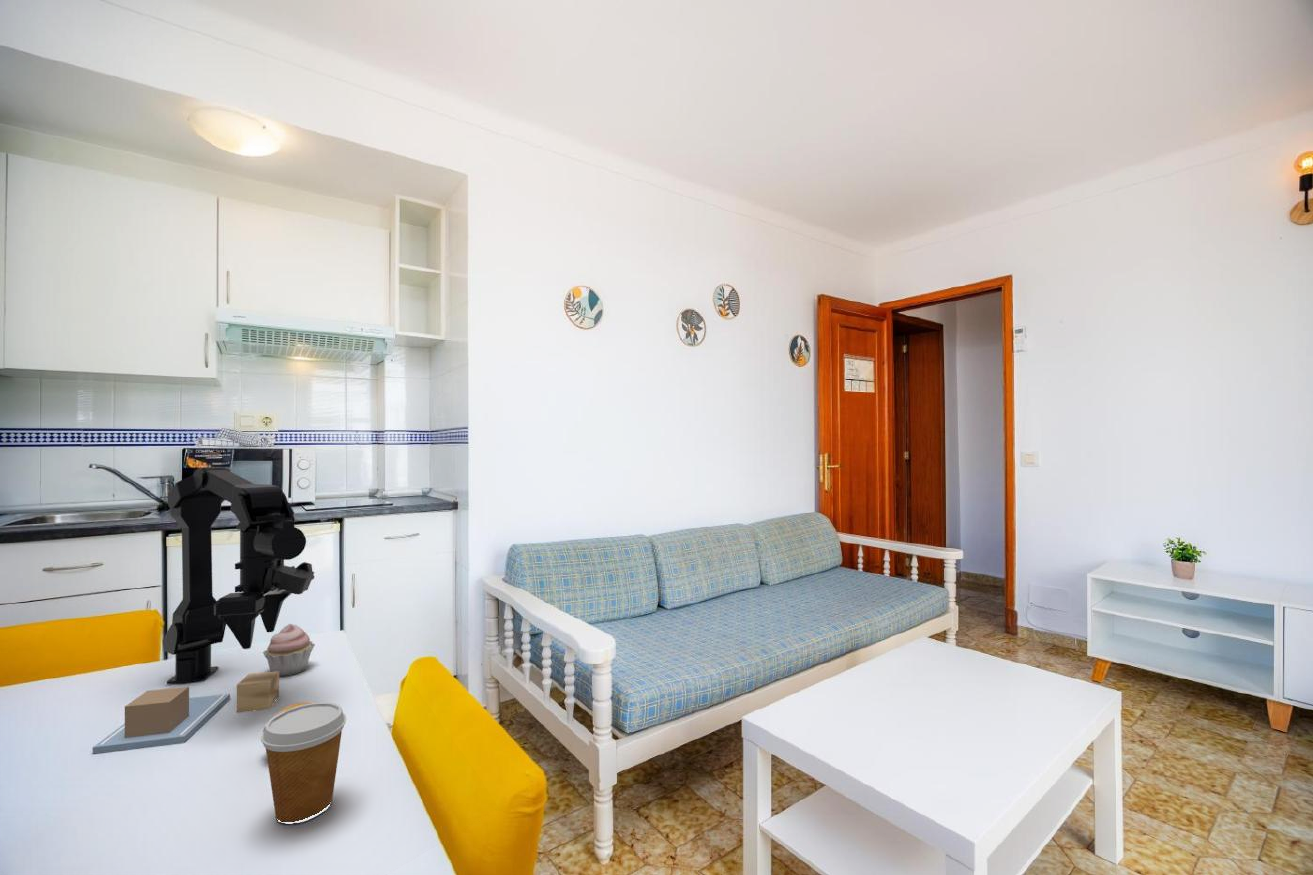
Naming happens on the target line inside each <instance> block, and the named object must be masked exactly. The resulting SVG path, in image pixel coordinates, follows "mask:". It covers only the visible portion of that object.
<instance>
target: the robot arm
mask: <svg viewBox="0 0 1313 875" xmlns="http://www.w3.org/2000/svg"><path fill="white" fill-rule="evenodd" d="M166 501H167V505H168V508H169V509H170V516H171V517H172V519H173V520H174V521H175V522H176V523H177V524H178V526H179V527H180V528H181V561H182V562H181V563H182V565H181V566H182V567H181V568H182V600H180V602H179V604H178V606H177V607H176V609H175V610H174V612H173V613H172V618H171V620H172V621H171V622H172V623H171V625H170V626H169V628H168V630H167V631H166V633H165V635H164V637H163V639H162V648H163V652H165V653H168V654H170V655H172V656H174V655H175V657H174V659H175V660H174V661H175V665H174V668H175V669H174V671H175V672H174V673H175V674H174V676H172V677H170V678H169V679H168V680H167V681H166V685H167V684H168V685H169V684H180V683H182V684H183V683H191V682H200V681H205V680H207V679H208V678H209V677H210V676H211V675H212V674H214V673H215V672H216V671H218V670H219V666H217V665H216V666H212V645H215V644H221V643H223V641H224V638H225V637H224V636H225V632H226V628H228V629H230V631H231V633H232V634H233V636H234V637H235V639H236V640H237V642H238V643H239V645H240V646H241V648H242V649H243V650H248V649H250V648H251V647H252V642H253V637H254V633H255V632H254V631H255V627H256V619H257V618H258V616H260V618H261V620H262V623H263V624H262V625H263V626H264V629H265V631H266V633H273V632H274V631H275V628H276V626H277V622H278V619H279V616H280V612H281V610H282V608H283V607H282V606H283V604H284V601H285V600H286V599H287V598H288V597H290V596H291V595H292V594H294V595H302V594H303V593H304V592H305V591H308V590H309V588H310V586H311V582H312V580H315V571H313V565H312V563H309V562H306V561H303V562H301V563H300V564H298V565H297V566H294V565H292V566H288V565H285V561H286V560H287V561H290V560H293V559H295V558H297V557H298V556H300V554H302V553H303V551H304V550H305V548H306V546H307V544H306V543H307V539H306V538H307V537H306V535H305V533H304V532H303V531H302V530H301V529H300V528H298V527H295V521H296V518H295V516H294V515H295V512H294V510H293V508H292V506H291V504H290V503H289V501H288V497H287V496H286V493H285V492H284V491H283V489H282V488H281V487H280V486H279V485H274V484H265V483H264V484H261V483H260V484H259V483H253V482H251V481H249V480H248V479H246V478H244V477H241V476H240V475H238V474H236V473H234V472H231V470H230V469H229V467H228V468H227V467H225V466H211V467H210V466H209V467H206V466H205V467H200V468H198V469H197V468H196V470H195V471H194V472H193V474H191V475H189V476H188V477H185V478H183V479H181V480H179V481H177V482H175V484H174V486H172V488H171V489H170V490H169V492H168V493H167V500H166ZM225 501H227V502H229V503H230V511H231V512H232V513H233V514H234V516H235V517H236V518H237V520H238V521H239V522H238V523H237V525H236V528H235V529H236V530H240V531H239V562H236V563H234V570H239V584H238V585H235V586H234V592H230V593H228V594H225V595H223V596H222V597H220V598H218V599H217V600H216V598H215V597H214V596H213V595H214V594H213V553H212V551H213V548H212V546H213V544H212V538H213V537H212V526H213V524H214V523H215V522H216V520H217V518H219V516H220V514H221V512H222V504H223V503H224V502H225Z"/></svg>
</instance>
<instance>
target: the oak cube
mask: <svg viewBox="0 0 1313 875" xmlns="http://www.w3.org/2000/svg"><path fill="white" fill-rule="evenodd" d="M278 697H279V698H280V676H279V671H275V672H271V671H269V672H256V673H249V674H247V675H246V676H245V677H244V678H243V679H242V680H241V681H239V682H238V683H237V684H236V713H245V712H246V713H247V712H254V711H253V710H256V711H264V710H270V708H271V707H272V706H273V705H274V704H273V703H275V702H276V701H277V700H278V699H279V698H278ZM277 698H278V699H277ZM276 699H277V700H276ZM275 700H276V701H275ZM272 704H273V705H272Z"/></svg>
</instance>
